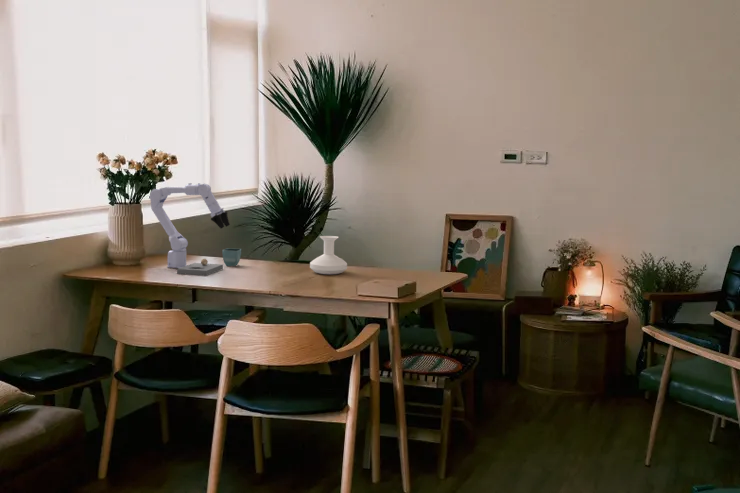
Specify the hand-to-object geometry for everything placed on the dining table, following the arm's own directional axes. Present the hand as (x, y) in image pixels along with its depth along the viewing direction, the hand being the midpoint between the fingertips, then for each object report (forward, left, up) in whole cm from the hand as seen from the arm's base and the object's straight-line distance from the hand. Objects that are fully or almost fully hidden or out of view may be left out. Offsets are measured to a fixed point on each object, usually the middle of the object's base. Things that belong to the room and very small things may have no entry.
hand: (225, 226), depth 431 cm
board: (-9, -11, -23) cm, 27 cm away
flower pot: (-1, +13, -23) cm, 27 cm away
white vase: (+55, +9, -23) cm, 60 cm away
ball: (-9, -6, -19) cm, 22 cm away
